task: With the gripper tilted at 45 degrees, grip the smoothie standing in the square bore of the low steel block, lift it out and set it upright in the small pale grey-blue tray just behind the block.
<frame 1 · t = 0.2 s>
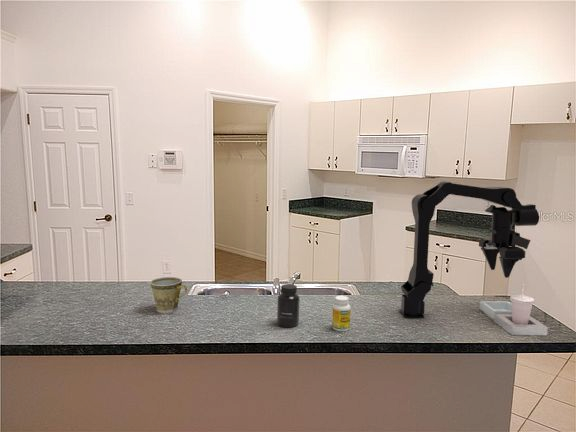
hand: (499, 273, 134), 14 cm above the countertop, tool pointing down, fingers open, 9 cm apart
supplement bottle 2: (341, 328, 124), on the countertop
ceramic cup: (170, 311, 137), on the countertop
bore block: (519, 328, 126), on the countertop
smoothie: (519, 328, 126), resting in bore block
tray: (500, 314, 137), on the countertop
supplement bottle: (288, 324, 127), on the countertop
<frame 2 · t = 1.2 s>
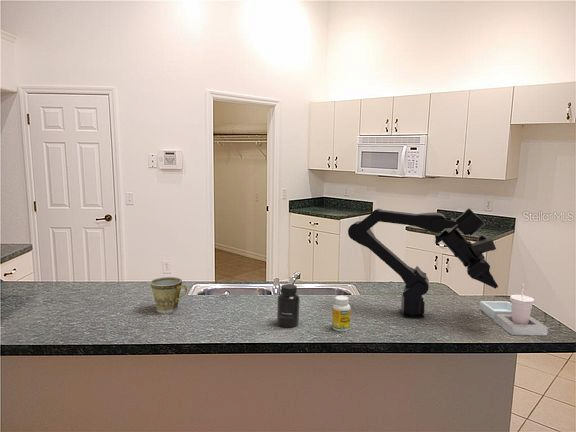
hand: (494, 283, 127), 13 cm above the countertop, tool tilted 45°, fingers open, 9 cm apart
nothing on the countertop moved.
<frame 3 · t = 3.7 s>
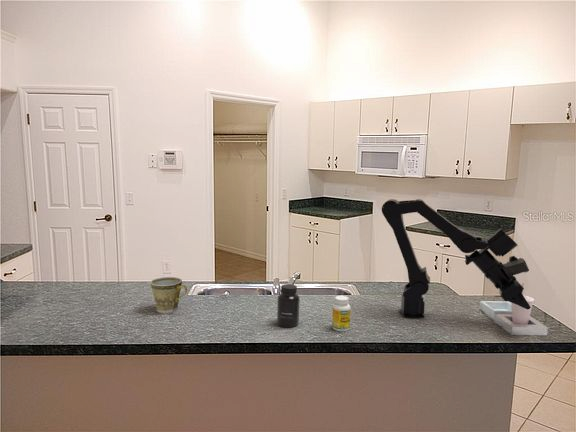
hand: (526, 304, 125), 8 cm above the countertop, tool tilted 45°, fingers closed on smoothie, 6 cm apart
smoothie: (519, 328, 126), resting in bore block, touching gripper
everything else where it was.
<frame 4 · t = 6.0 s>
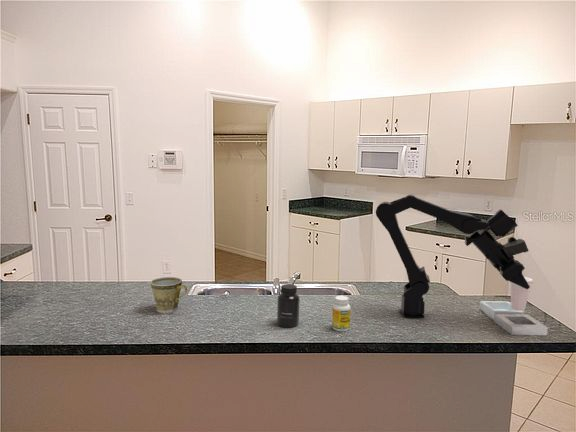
hand: (525, 285, 126), 13 cm above the countertop, tool tilted 45°, fingers closed on smoothie, 6 cm apart
smoothie: (517, 309, 127), point 5 cm above the countertop, touching gripper
everything else where it was.
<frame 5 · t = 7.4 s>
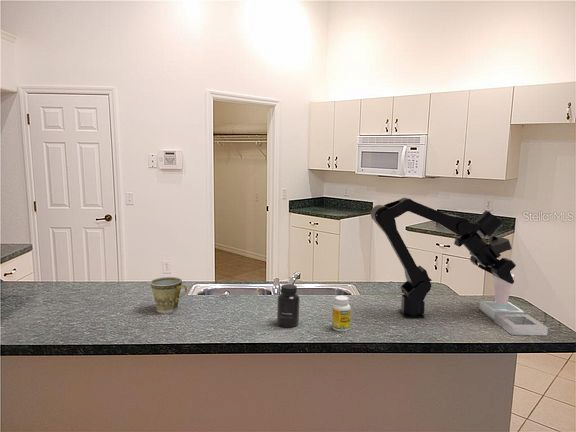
hand: (507, 280, 135), 12 cm above the countertop, tool tilted 45°, fingers closed on smoothie, 6 cm apart
smoothie: (500, 302, 136), point 4 cm above the countertop, touching gripper
everything else where it was.
when the fingers open (9 cm above the countertop, at t = 8.4 s): smoothie stays where it is, resting on tray.
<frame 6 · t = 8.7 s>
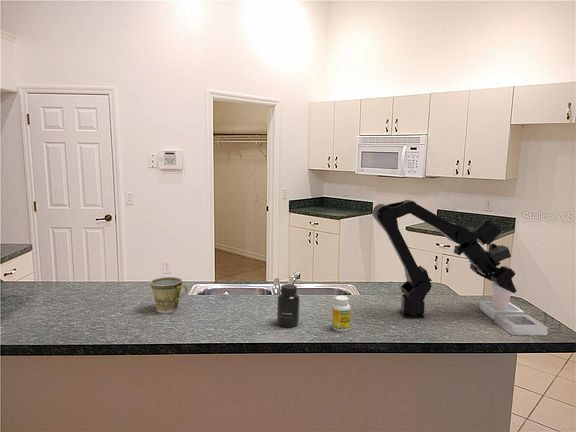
hand: (507, 287, 136), 9 cm above the countertop, tool tilted 45°, fingers open, 9 cm apart
smoothie: (499, 313, 137), resting on tray
everything else where it was.
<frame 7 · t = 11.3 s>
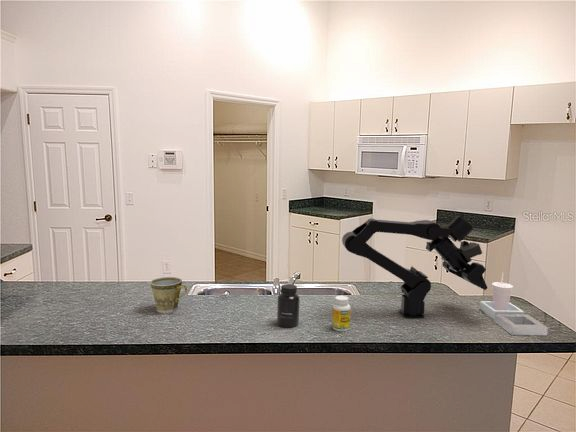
hand: (478, 285, 135), 10 cm above the countertop, tool tilted 45°, fingers open, 9 cm apart
nothing on the countertop moved.
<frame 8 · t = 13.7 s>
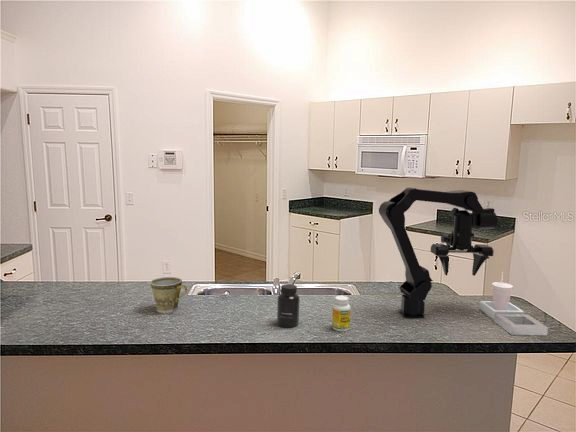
hand: (459, 275, 137), 13 cm above the countertop, tool pointing down, fingers open, 9 cm apart
nothing on the countertop moved.
at the end: smoothie 0.3 cm off-centre on the tray, point 0.4 cm above the tray's base; smoothie tilted 0°; the gripper is holding nothing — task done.
